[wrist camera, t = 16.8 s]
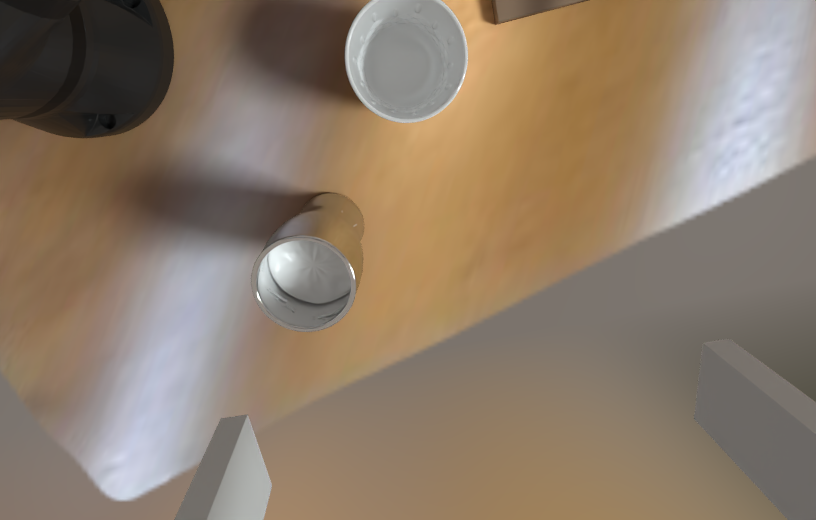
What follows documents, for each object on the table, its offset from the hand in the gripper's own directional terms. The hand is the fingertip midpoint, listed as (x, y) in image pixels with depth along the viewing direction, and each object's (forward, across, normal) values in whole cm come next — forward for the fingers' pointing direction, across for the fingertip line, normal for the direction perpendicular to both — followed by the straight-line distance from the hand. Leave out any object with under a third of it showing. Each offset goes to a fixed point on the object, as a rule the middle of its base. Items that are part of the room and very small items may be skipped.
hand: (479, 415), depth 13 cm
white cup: (+31, +1, +10) cm, 33 cm away
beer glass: (+31, -8, -2) cm, 32 cm away
